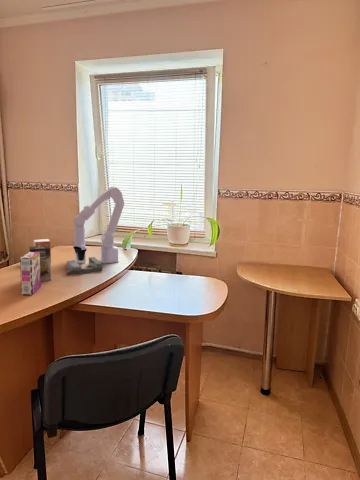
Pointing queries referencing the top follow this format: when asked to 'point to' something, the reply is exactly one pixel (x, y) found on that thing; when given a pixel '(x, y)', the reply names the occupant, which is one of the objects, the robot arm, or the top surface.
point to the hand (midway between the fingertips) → (80, 259)
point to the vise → (93, 263)
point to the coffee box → (43, 261)
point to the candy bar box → (30, 273)
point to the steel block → (78, 258)
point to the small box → (42, 244)
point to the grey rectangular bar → (73, 265)
